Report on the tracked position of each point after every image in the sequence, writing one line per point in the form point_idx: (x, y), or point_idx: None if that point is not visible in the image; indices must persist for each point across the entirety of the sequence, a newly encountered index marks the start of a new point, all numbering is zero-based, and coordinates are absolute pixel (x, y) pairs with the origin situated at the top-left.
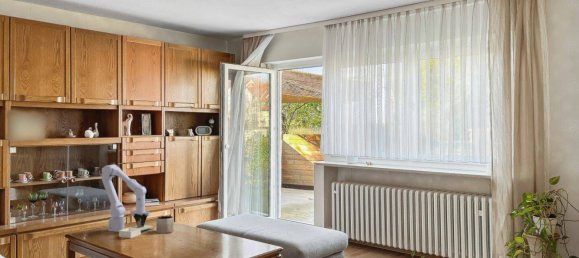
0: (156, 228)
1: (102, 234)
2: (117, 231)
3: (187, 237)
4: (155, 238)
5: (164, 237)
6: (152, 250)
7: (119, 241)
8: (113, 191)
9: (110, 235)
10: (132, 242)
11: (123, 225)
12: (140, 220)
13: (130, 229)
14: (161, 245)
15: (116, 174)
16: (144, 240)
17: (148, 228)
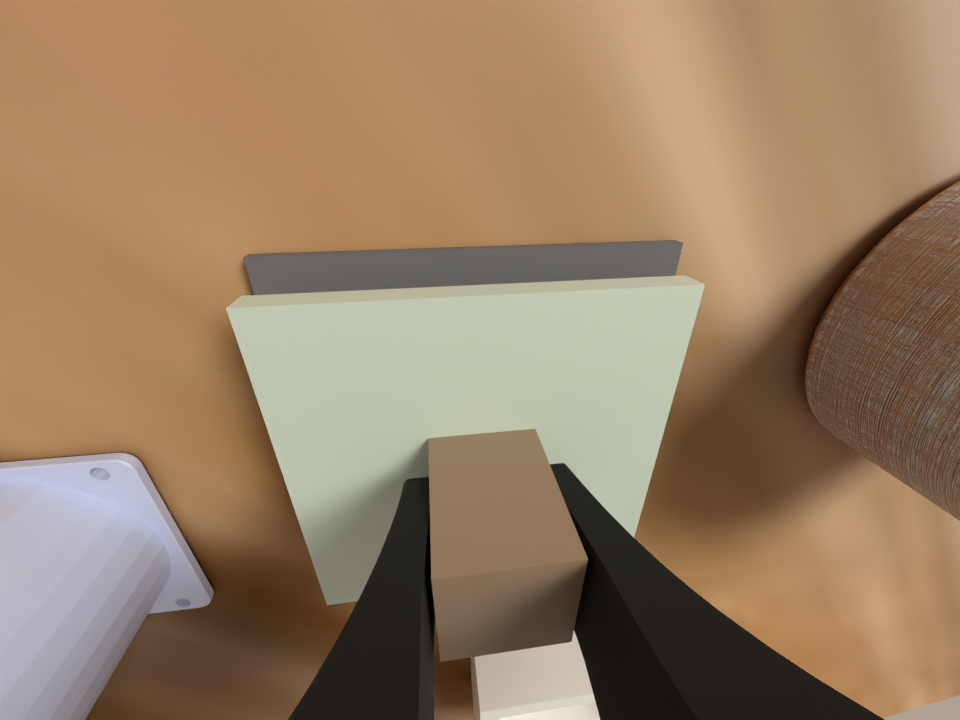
0: (874, 459)
1: (147, 700)
2: (183, 606)
3: None
4: (853, 569)
5: (947, 516)
6: (890, 702)
7: None
8: None
9: (289, 683)
10: None
11: (91, 613)
12: (460, 589)
13: (517, 683)
14: (938, 645)
15: None
16: (764, 635)
17: (528, 250)
